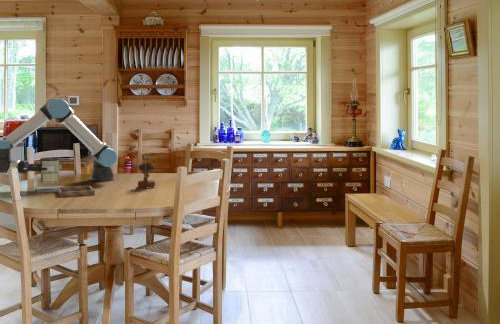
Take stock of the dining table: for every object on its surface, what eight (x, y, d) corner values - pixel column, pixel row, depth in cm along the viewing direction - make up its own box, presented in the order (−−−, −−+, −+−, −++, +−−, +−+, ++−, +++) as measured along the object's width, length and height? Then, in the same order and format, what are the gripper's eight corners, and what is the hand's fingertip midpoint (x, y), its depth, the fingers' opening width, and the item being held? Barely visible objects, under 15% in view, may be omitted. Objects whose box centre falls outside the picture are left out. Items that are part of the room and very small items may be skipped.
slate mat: (64, 186, 310) (64, 185, 310) (66, 190, 296) (66, 189, 296) (35, 188, 304) (35, 187, 304) (36, 192, 289) (36, 191, 289)
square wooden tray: (90, 189, 301) (90, 185, 300) (94, 194, 284) (94, 190, 284) (57, 191, 293) (57, 187, 293) (60, 197, 277) (60, 192, 277)
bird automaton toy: (157, 188, 308) (154, 155, 305) (138, 190, 305) (135, 157, 302) (154, 184, 322) (151, 153, 320) (136, 186, 319) (133, 154, 317)
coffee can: (37, 182, 298) (36, 158, 296) (52, 180, 306) (52, 157, 305) (47, 184, 292) (47, 159, 291) (63, 182, 301) (62, 158, 299)
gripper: (29, 171, 311) (65, 171, 310) (10, 175, 289) (48, 176, 287) (29, 158, 310) (65, 159, 309) (9, 162, 288) (48, 163, 287)
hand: (57, 167), depth 298 cm, fingers closed on coffee can, 10 cm apart
